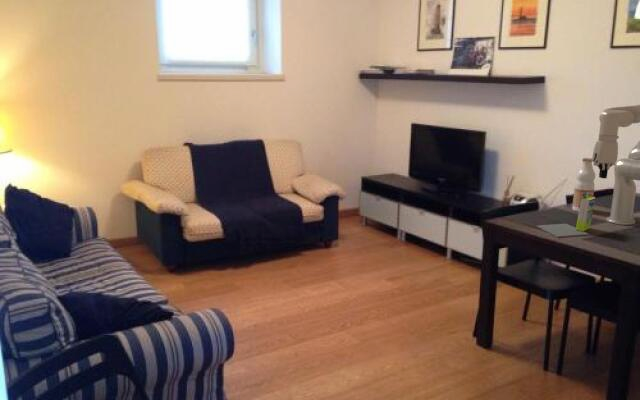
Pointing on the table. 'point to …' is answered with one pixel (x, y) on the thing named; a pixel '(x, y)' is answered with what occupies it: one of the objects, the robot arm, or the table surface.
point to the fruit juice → (583, 182)
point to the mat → (562, 230)
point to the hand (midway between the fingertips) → (602, 177)
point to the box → (585, 212)
